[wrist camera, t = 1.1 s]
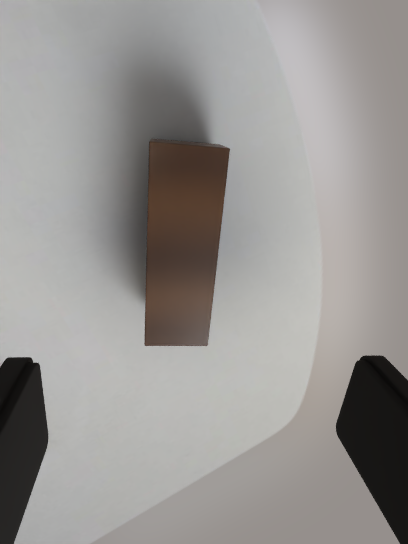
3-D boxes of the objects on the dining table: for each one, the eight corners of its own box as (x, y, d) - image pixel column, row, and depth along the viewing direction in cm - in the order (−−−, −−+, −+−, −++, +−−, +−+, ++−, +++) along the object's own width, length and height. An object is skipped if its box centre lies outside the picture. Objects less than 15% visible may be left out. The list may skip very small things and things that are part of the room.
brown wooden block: (151, 137, 20) (149, 141, 16) (217, 143, 21) (230, 148, 17) (146, 313, 25) (144, 346, 21) (200, 313, 25) (207, 346, 22)
